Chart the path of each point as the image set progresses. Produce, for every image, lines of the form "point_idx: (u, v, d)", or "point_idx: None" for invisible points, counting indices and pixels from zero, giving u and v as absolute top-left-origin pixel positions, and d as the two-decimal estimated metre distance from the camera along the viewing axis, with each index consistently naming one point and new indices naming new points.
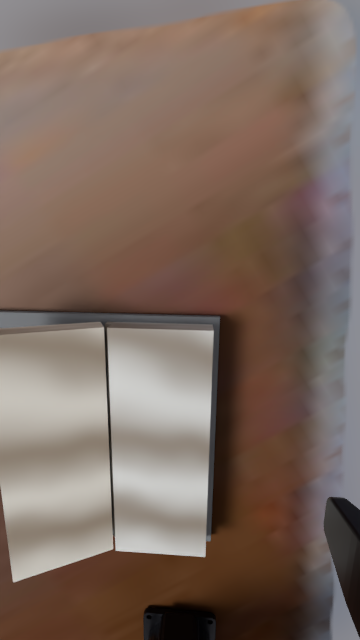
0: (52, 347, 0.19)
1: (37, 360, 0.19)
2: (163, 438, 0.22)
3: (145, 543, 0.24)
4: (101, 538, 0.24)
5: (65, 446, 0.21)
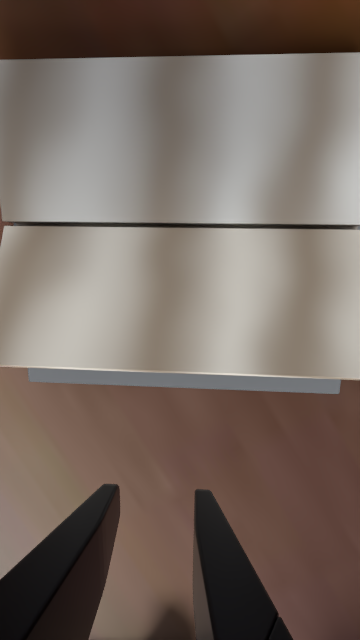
0: (14, 287, 0.15)
1: (27, 305, 0.15)
2: (159, 138, 0.14)
3: (358, 170, 0.14)
4: (340, 245, 0.14)
5: (160, 283, 0.15)
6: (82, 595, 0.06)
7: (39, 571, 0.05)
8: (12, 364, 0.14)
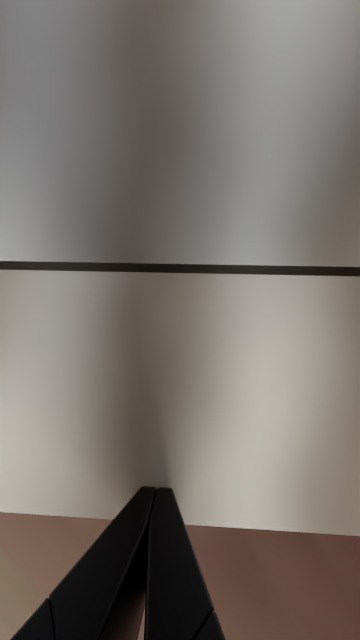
0: None
1: None
2: (129, 127, 0.09)
3: None
4: None
5: (134, 366, 0.09)
6: (133, 599, 0.06)
7: (96, 576, 0.05)
8: None
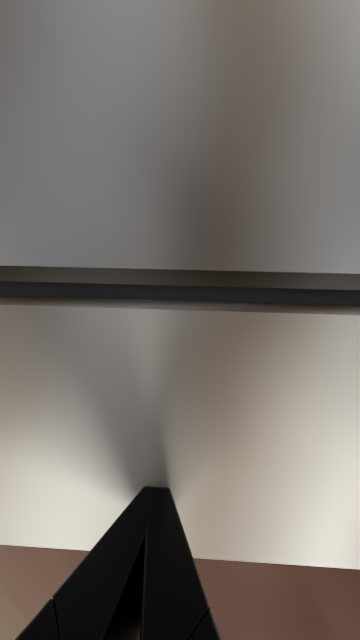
0: None
1: None
2: (222, 85, 0.06)
3: None
4: None
5: (217, 424, 0.08)
6: (137, 599, 0.06)
7: (99, 576, 0.05)
8: None
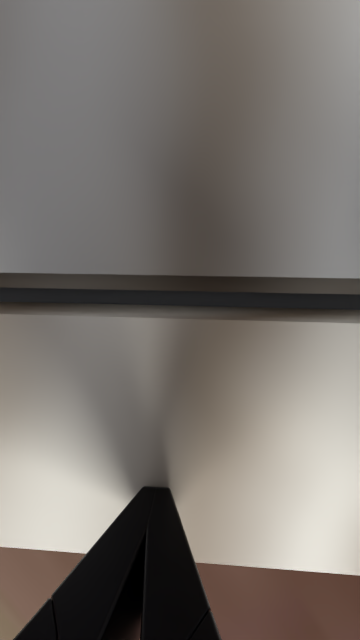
0: None
1: None
2: (197, 87, 0.06)
3: None
4: None
5: (198, 431, 0.08)
6: (135, 599, 0.06)
7: (98, 576, 0.05)
8: None
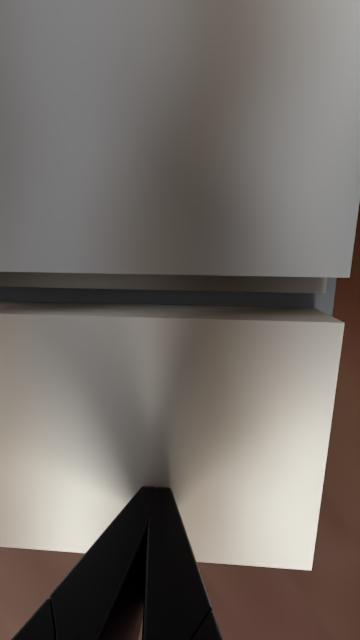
0: None
1: None
2: None
3: (320, 161, 0.06)
4: (280, 356, 0.07)
5: None
6: (134, 599, 0.06)
7: (96, 576, 0.05)
8: None
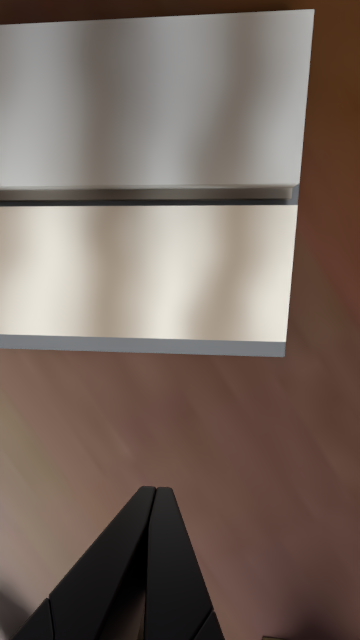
0: None
1: None
2: (92, 101, 0.15)
3: (284, 129, 0.14)
4: (268, 223, 0.15)
5: (104, 263, 0.16)
6: (133, 599, 0.06)
7: (95, 575, 0.05)
8: None
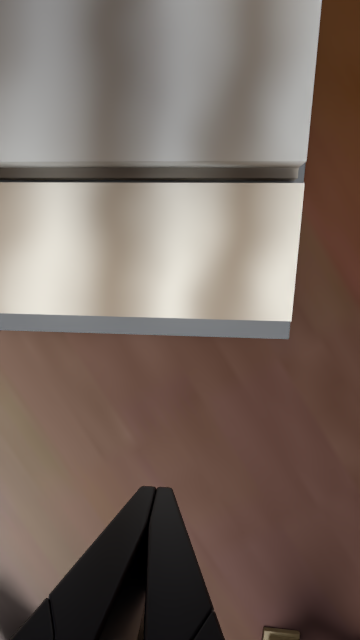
0: None
1: None
2: (101, 76, 0.15)
3: (292, 106, 0.14)
4: (275, 201, 0.15)
5: (110, 241, 0.16)
6: (133, 599, 0.06)
7: (95, 576, 0.05)
8: None
